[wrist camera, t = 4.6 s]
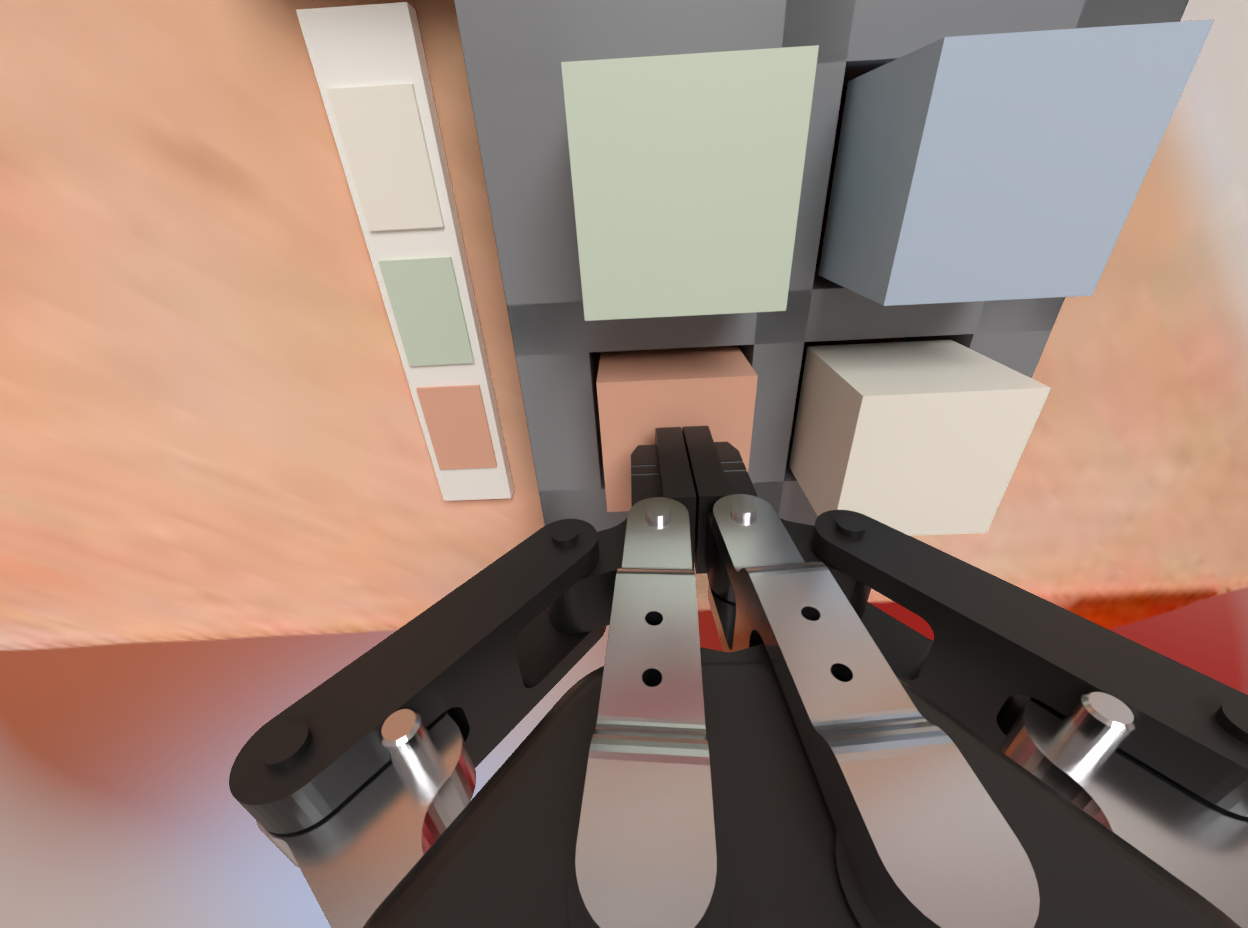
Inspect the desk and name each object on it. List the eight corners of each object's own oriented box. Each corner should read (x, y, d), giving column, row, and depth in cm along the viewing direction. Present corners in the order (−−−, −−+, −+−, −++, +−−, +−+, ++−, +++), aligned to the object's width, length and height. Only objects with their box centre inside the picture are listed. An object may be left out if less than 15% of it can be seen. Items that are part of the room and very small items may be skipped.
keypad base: (1086, -37, 12) (1234, -109, 9) (920, 474, 21) (970, 523, 18) (487, 4, 13) (445, -51, 10) (558, 488, 21) (547, 539, 18)
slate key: (1034, 69, 11) (1215, 19, 8) (972, 266, 13) (1091, 295, 10) (848, 81, 11) (945, 36, 8) (818, 275, 14) (883, 306, 10)
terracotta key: (729, 334, 16) (757, 375, 13) (722, 446, 18) (744, 506, 15) (602, 340, 16) (596, 383, 13) (610, 451, 19) (607, 512, 15)
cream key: (950, 339, 15) (1051, 388, 11) (913, 461, 17) (986, 533, 13) (807, 346, 15) (863, 396, 11) (789, 466, 17) (830, 538, 13)
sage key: (760, 86, 11) (818, 45, 8) (745, 278, 14) (785, 310, 10) (580, 98, 12) (561, 61, 8) (595, 286, 14) (585, 321, 10)
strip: (415, 9, 13) (404, -1, 12) (514, 490, 21) (510, 500, 20) (308, 16, 13) (292, 8, 12) (448, 493, 21) (442, 503, 21)
